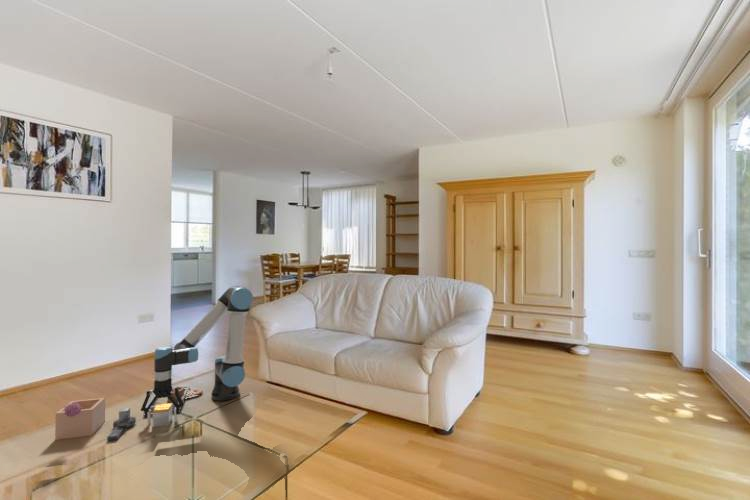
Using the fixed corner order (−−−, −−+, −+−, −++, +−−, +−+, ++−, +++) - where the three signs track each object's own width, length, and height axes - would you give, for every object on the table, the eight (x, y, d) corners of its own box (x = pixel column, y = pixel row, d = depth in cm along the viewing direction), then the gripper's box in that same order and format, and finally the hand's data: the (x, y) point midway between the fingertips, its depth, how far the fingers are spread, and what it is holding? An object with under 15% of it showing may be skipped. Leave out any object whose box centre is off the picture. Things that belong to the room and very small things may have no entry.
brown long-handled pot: (168, 406, 196) (168, 394, 196) (166, 401, 203) (166, 389, 202) (204, 396, 207) (203, 384, 207) (201, 392, 213) (200, 380, 213)
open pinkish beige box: (105, 421, 177) (105, 397, 178) (92, 435, 164) (92, 409, 164) (71, 425, 173) (71, 401, 173) (55, 439, 160) (55, 413, 160)
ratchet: (138, 420, 179) (138, 404, 179) (124, 439, 161) (124, 421, 161) (117, 423, 176) (117, 406, 176) (100, 442, 158) (100, 424, 158)
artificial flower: (86, 423, 172) (74, 418, 153) (70, 419, 170) (56, 414, 151) (95, 409, 176) (84, 402, 156) (80, 405, 174) (67, 398, 155)
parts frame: (190, 392, 215) (190, 386, 215) (180, 411, 189) (180, 404, 189) (158, 395, 210) (158, 389, 210) (143, 415, 184) (143, 408, 184)
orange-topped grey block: (172, 418, 181) (172, 403, 181) (168, 425, 174) (168, 408, 174) (156, 420, 179) (156, 404, 179) (152, 427, 172) (152, 410, 172)
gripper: (190, 373, 184) (190, 415, 183) (138, 378, 177) (137, 422, 176) (187, 378, 177) (187, 422, 176) (133, 383, 169) (132, 429, 169)
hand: (162, 422), depth 176 cm, fingers open, 11 cm apart
